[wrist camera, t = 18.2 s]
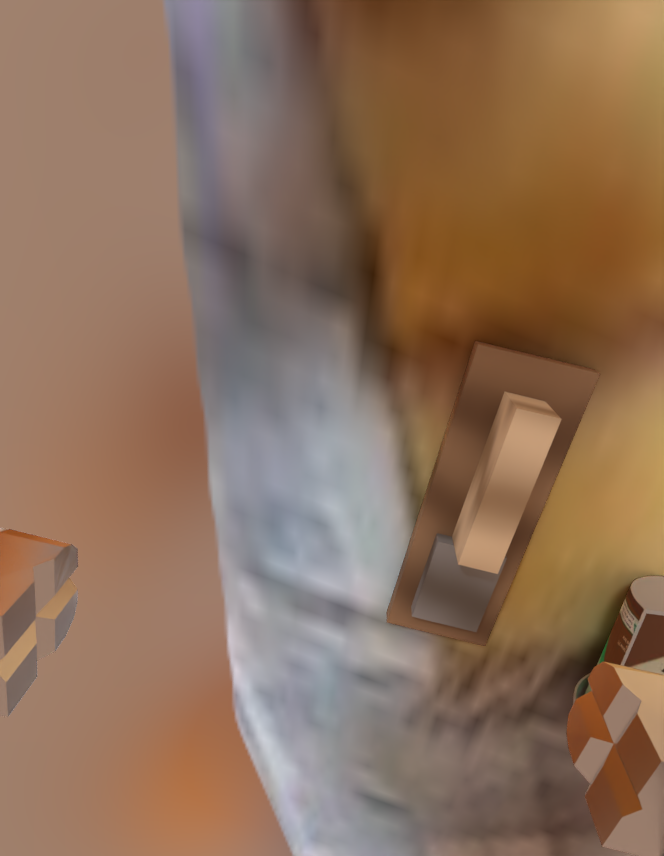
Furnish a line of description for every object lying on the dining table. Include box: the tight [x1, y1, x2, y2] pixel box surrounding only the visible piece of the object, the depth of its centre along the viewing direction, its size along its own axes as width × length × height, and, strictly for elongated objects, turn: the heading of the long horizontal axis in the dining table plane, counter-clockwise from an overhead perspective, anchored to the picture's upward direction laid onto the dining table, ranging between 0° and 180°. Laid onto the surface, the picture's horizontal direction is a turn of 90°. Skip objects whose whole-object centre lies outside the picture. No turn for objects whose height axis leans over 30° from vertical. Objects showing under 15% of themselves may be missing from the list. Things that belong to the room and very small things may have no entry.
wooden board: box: [387, 341, 600, 646], centre depth 34 cm, size 20×7×1 cm, turn 167°
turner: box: [411, 392, 562, 632], centre depth 32 cm, size 16×4×3 cm, turn 167°
